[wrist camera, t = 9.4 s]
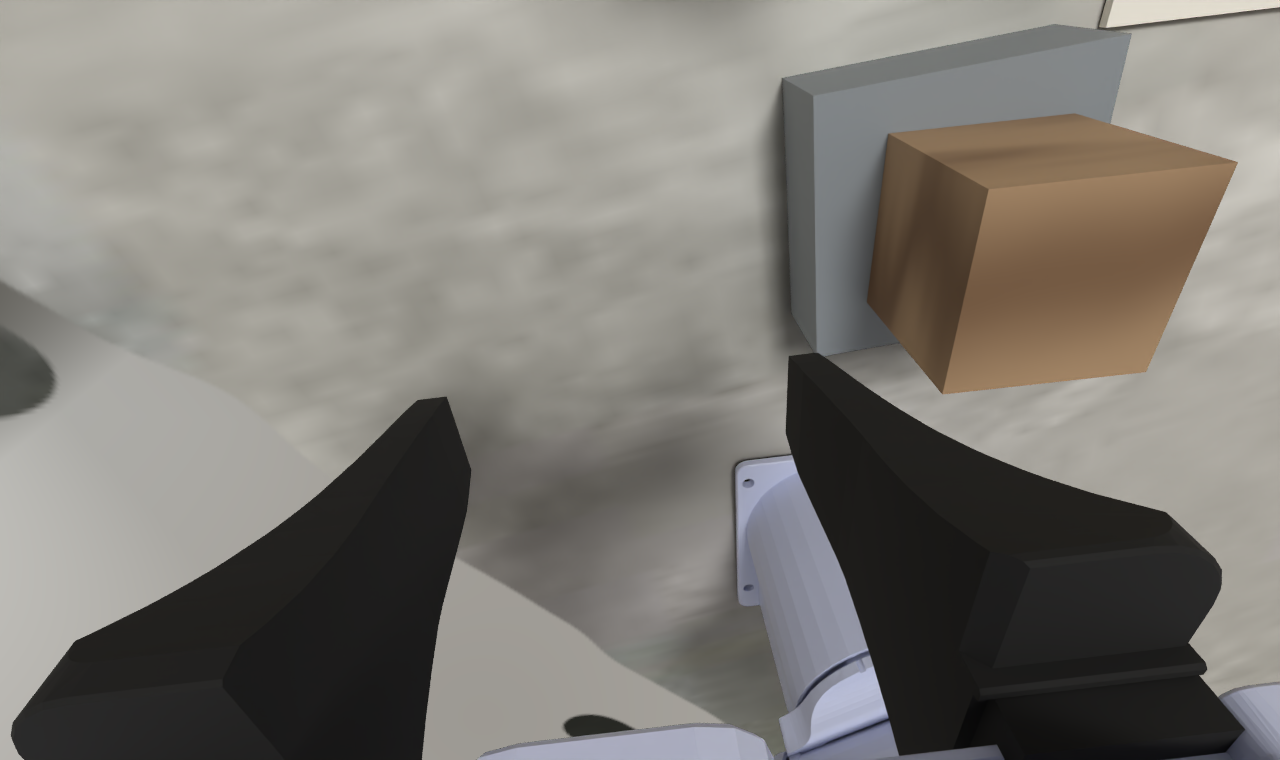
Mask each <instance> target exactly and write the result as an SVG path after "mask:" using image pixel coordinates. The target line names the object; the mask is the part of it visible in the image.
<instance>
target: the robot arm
mask: <svg viewBox="0 0 1280 760" xmlns="http://www.w3.org/2000/svg"><path fill="white" fill-rule="evenodd" d="M786 436H787V439H788V442H789V446H790V449H791V453H792V455H789V456H781V457H772V458H764V459H755V460H747V461H743V462H741V463H739V464H738V465H737V466H736V469H735V494H736V546H737V596H738V600H739V603H740V604H741V605H743V606H755V605H760V607H761V611H762V615H763V619H764V622H765V626H766V630H767V634H768V638H769V642H770V645H771V649H772V653H773V657H774V661H775V664H776V668H777V672H778V676H779V680H780V684H781V687H782V691H783V695H784V699H785V703H786V706H787V709H788V712H789V713H788V714H786V715H784V716H782V717H780V718H779V724H780V728H781V732H782V736H783V740H784V744H785V748H786V751H784V752H781V753H778V754H777V755H776V756H774V757H773V756H772V754H771V752H770V750H769V748H768V746H767V744H766V743H765V741H764V739H762V738H761V737H759V736H758V735H756V734H754V733H751V732H749V731H746V730H744V729H741V728H739V727H736V726H734V725H731V724H715V723H711V724H710V723H689V724H680V725H672V726H663V727H655V728H646V729H638V730H629V731H621V732H612V733H603V734H595V735H586V736H578V737H569V738H561V739H552V740H544V741H535V742H527V743H519V744H515V745H511V746H507V747H503V748H500V749H496V750H493V751H489V752H485V753H484V754H483V755H481V756H480V757H479V758H478V759H476V760H1280V682H1273V683H1264V684H1256V685H1247V686H1243V687H1239V688H1234V689H1232V690H1230V691H1228V692H1226V693H1223V694H1221V695H1220V696H1219V697H1217V696H1216V695H1215V693H1214V692H1213V691H1212V690H1211V689H1210V688H1209V686H1208V685H1207V684H1206V683H1205V682H1204V681H1203V679H1202V678H1201V677H1200V676H1199V675H1204V673H1205V672H1206V670H1207V666H1206V663H1205V661H1204V660H1203V659H1202V658H1201V657H1200V656H1199V655H1198V653H1197V652H1196V651H1195V650H1194V649H1193V648H1192V647H1191V645H1190V644H1189V643H1188V642H1189V641H1190V639H1191V638H1192V636H1193V635H1194V633H1195V632H1196V630H1197V629H1198V627H1199V626H1200V624H1201V623H1202V621H1203V620H1204V618H1205V617H1206V615H1207V614H1208V612H1209V611H1210V609H1211V608H1212V606H1213V605H1214V602H1215V600H1216V598H1217V596H1218V594H1219V592H1220V589H1221V585H1222V569H1221V568H1220V566H1219V564H1218V563H1217V561H1216V559H1215V558H1214V557H1213V556H1212V555H1211V554H1210V553H1209V552H1208V551H1207V550H1206V549H1205V548H1204V547H1202V546H1201V545H1200V544H1199V543H1198V542H1197V541H1196V540H1195V539H1194V538H1193V537H1192V536H1191V535H1190V534H1189V533H1188V532H1187V531H1186V530H1185V529H1183V528H1182V527H1181V526H1180V525H1179V524H1178V523H1177V522H1176V521H1175V520H1174V519H1173V518H1172V517H1171V516H1169V515H1168V514H1167V513H1166V512H1163V511H1159V510H1155V509H1151V508H1148V507H1144V506H1140V505H1136V504H1132V503H1128V502H1124V501H1120V500H1117V499H1113V498H1109V497H1105V496H1101V495H1097V494H1094V493H1090V492H1087V491H1084V490H1081V489H1078V488H1075V487H1071V486H1068V485H1065V484H1062V483H1059V482H1056V481H1053V480H1050V479H1047V478H1044V477H1041V476H1038V475H1036V474H1033V473H1030V472H1027V471H1025V470H1022V469H1019V468H1017V467H1015V466H1012V465H1010V464H1007V463H1005V462H1002V461H1000V460H997V459H995V458H992V457H990V456H988V455H985V454H983V453H981V452H978V451H976V450H974V449H972V448H970V447H968V446H966V445H964V444H962V443H960V442H958V441H956V440H954V439H952V438H950V437H948V436H945V435H943V434H941V433H940V432H938V431H936V430H934V429H932V428H930V427H929V426H927V425H925V424H923V423H922V422H920V421H918V420H917V419H915V418H913V417H912V416H910V415H908V414H907V413H905V412H903V411H902V410H900V409H898V408H897V407H895V406H894V405H892V404H891V403H889V402H887V401H886V400H884V399H883V398H881V397H880V396H878V395H877V394H876V393H874V392H873V391H871V390H870V389H868V388H867V387H865V386H864V385H863V384H861V383H860V382H858V381H857V380H856V379H854V378H853V377H851V376H850V375H849V374H847V373H846V372H844V371H843V370H842V369H840V368H839V367H838V366H836V365H835V364H833V363H832V362H831V361H829V360H828V359H827V358H825V357H824V356H822V355H821V354H819V353H811V354H802V355H794V356H789V363H788V388H787V413H786ZM470 478H471V468H470V465H469V462H468V459H467V456H466V453H465V450H464V447H463V444H462V441H461V438H460V435H459V432H458V429H457V426H456V423H455V420H454V417H453V414H452V411H451V408H450V405H449V402H448V399H447V397H440V398H431V399H423V400H417V401H416V402H415V403H414V404H413V405H412V406H411V407H410V408H408V409H407V410H406V411H405V412H404V413H403V414H402V415H401V416H400V417H399V418H398V419H397V420H396V421H395V422H394V423H393V424H392V425H391V426H390V427H389V428H388V429H387V430H386V431H385V432H384V433H383V434H382V435H381V436H380V437H379V438H378V439H377V440H376V441H375V442H374V443H373V444H372V445H371V446H370V447H369V448H368V449H367V450H366V451H365V452H364V453H363V454H362V455H361V456H360V457H359V458H358V459H357V460H356V461H355V462H354V463H353V464H352V465H350V466H349V467H348V468H347V469H346V470H345V471H344V472H343V473H342V474H341V475H339V476H338V477H337V478H336V479H335V480H334V481H333V482H332V483H331V484H329V485H328V486H327V487H326V488H325V489H324V490H323V491H322V492H321V493H319V494H318V495H317V496H316V497H315V498H313V499H312V500H311V501H310V502H308V503H307V504H306V505H305V506H304V507H302V508H301V509H300V510H298V511H297V512H296V513H294V514H293V515H292V516H291V517H289V518H288V519H287V520H286V521H284V522H283V523H281V524H280V525H279V526H278V527H276V528H275V529H273V530H272V531H270V532H269V533H268V534H266V535H265V536H263V537H262V538H260V539H259V540H257V541H256V542H254V543H253V544H251V545H250V546H248V547H247V548H245V549H243V550H242V551H240V552H239V553H238V554H236V555H234V556H233V557H231V558H230V559H228V560H227V561H225V562H224V563H222V564H221V565H219V566H217V567H216V568H214V569H212V570H211V571H209V572H207V573H206V574H204V575H202V576H201V577H199V578H197V579H195V580H194V581H192V582H191V583H188V584H187V585H185V586H183V587H181V588H180V589H178V590H176V591H174V592H173V593H171V594H169V595H167V596H165V597H163V598H161V599H160V600H158V601H156V602H154V603H152V604H150V605H148V606H147V607H144V608H142V609H140V610H138V611H136V612H134V613H132V614H130V615H128V616H126V617H124V618H122V619H120V620H118V621H116V622H114V623H112V624H110V625H108V626H106V627H104V628H102V629H100V630H98V631H96V632H94V633H92V634H89V635H87V636H85V637H83V638H81V639H79V640H76V641H75V642H74V643H73V645H72V646H71V647H70V649H69V650H68V651H67V652H66V654H65V655H64V656H63V658H62V659H61V660H60V662H59V663H58V664H57V665H56V667H55V668H54V669H53V671H52V672H51V673H50V675H49V676H48V677H47V679H46V680H45V681H44V682H43V684H42V685H41V686H40V688H39V689H38V690H37V692H36V693H35V694H34V696H33V697H32V698H31V699H30V701H29V702H28V703H27V705H26V706H25V707H24V709H23V710H22V711H21V713H20V714H19V715H18V717H17V718H16V719H15V720H14V722H13V725H12V731H11V737H12V740H13V743H14V745H15V747H16V749H17V751H18V754H19V755H20V756H21V757H22V758H23V759H24V760H422V752H423V742H424V731H425V721H426V713H427V704H428V696H429V688H430V680H431V671H432V664H433V658H434V651H435V644H436V638H437V631H438V624H439V620H440V615H441V610H442V606H443V602H444V598H445V594H446V590H447V586H448V582H449V579H450V575H451V571H452V567H453V564H454V560H455V556H456V552H457V548H458V545H459V541H460V537H461V533H462V529H463V525H464V521H465V517H466V512H467V505H468V497H469V488H470ZM746 479H751V480H750V481H747V482H744V480H746Z"/></svg>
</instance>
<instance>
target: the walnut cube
mask: <svg viewBox="0 0 1280 760" xmlns="http://www.w3.org/2000/svg"><path fill="white" fill-rule="evenodd" d="M1237 163H1238V162H1235V161H1232V160H1229V159H1225V158H1222V157H1219V156H1215V155H1212V154H1209V153H1205V152H1202V151H1199V150H1195V149H1192V148H1189V147H1185V146H1182V145H1179V144H1175V143H1172V142H1169V141H1165V140H1162V139H1159V138H1155V137H1152V136H1149V135H1145V134H1142V133H1139V132H1135V131H1132V130H1129V129H1125V128H1122V127H1119V126H1115V125H1112V124H1109V123H1105V122H1102V121H1099V120H1095V119H1092V118H1089V117H1085V116H1082V115H1079V114H1075V113H1074V114H1064V115H1055V116H1046V117H1037V118H1027V119H1018V120H1009V121H999V122H990V123H981V124H972V125H962V126H953V127H944V128H935V129H925V130H916V131H907V132H897V133H888V141H887V149H886V156H885V164H884V172H883V180H882V187H881V195H880V203H879V211H878V218H877V226H876V234H875V242H874V250H873V257H872V265H871V273H870V281H869V288H868V296H867V303H868V304H869V306H870V307H871V308H872V309H873V311H874V312H875V313H876V314H877V315H878V317H879V318H880V319H881V320H882V321H883V323H884V324H885V325H886V326H887V328H888V329H889V330H890V331H891V332H892V334H893V335H894V336H895V337H896V338H897V340H898V341H899V342H900V343H901V345H902V346H903V347H904V348H905V349H906V351H907V352H908V353H909V354H910V355H911V357H912V358H913V359H914V360H915V362H916V363H917V364H918V365H919V366H920V368H921V369H922V370H923V371H924V372H925V374H926V375H927V376H928V377H929V379H930V380H931V381H932V382H933V383H934V385H935V386H936V387H937V388H938V390H939V391H940V392H941V393H942V394H950V393H959V392H968V391H978V390H987V389H996V388H1005V387H1014V386H1023V385H1032V384H1041V383H1050V382H1059V381H1068V380H1078V379H1087V378H1096V377H1105V376H1114V375H1123V374H1132V373H1141V372H1146V371H1147V368H1148V366H1149V364H1150V362H1151V359H1152V357H1153V355H1154V352H1155V350H1156V348H1157V346H1158V343H1159V341H1160V339H1161V337H1162V334H1163V332H1164V330H1165V327H1166V325H1167V323H1168V321H1169V318H1170V316H1171V314H1172V311H1173V309H1174V307H1175V305H1176V302H1177V300H1178V298H1179V296H1180V293H1181V291H1182V289H1183V286H1184V284H1185V282H1186V280H1187V277H1188V275H1189V273H1190V270H1191V268H1192V266H1193V264H1194V261H1195V259H1196V257H1197V255H1198V252H1199V250H1200V248H1201V245H1202V243H1203V241H1204V239H1205V236H1206V234H1207V232H1208V229H1209V227H1210V225H1211V223H1212V220H1213V218H1214V216H1215V213H1216V211H1217V209H1218V207H1219V204H1220V202H1221V200H1222V198H1223V195H1224V193H1225V191H1226V188H1227V186H1228V184H1229V182H1230V179H1231V177H1232V175H1233V172H1234V170H1235V168H1236V166H1237Z"/></svg>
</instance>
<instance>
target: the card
mask: <svg viewBox="0 0 1280 760" xmlns="http://www.w3.org/2000/svg"><path fill="white" fill-rule="evenodd" d="M1276 7H1280V0H1106V3H1105V7H1104V10H1103V14H1102V18H1101V21H1100V25H1099V27H1102V28H1109V27H1118V26H1126V25H1134V24H1143V23H1151V22H1159V21H1168V20H1176V19H1184V18H1193V17H1201V16H1209V15H1218V14H1226V13H1234V12H1243V11H1251V10H1259V9H1268V8H1276Z"/></svg>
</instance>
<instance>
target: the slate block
mask: <svg viewBox="0 0 1280 760" xmlns="http://www.w3.org/2000/svg"><path fill="white" fill-rule="evenodd" d="M1131 35H1132V34H1131V33H1123V32H1114V31H1106V30H1098V29H1090V28H1081V27H1073V26H1065V25H1056V24H1054V25H1049V26H1043V27H1038V28H1033V29H1028V30H1023V31H1018V32H1013V33H1008V34H1003V35H998V36H993V37H988V38H983V39H978V40H973V41H967V42H962V43H957V44H952V45H947V46H942V47H937V48H932V49H927V50H922V51H917V52H912V53H907V54H902V55H896V56H891V57H886V58H881V59H876V60H871V61H866V62H861V63H856V64H851V65H846V66H841V67H836V68H831V69H825V70H820V71H815V72H810V73H805V74H800V75H795V76H790V77H785V78H782V80H783V106H784V132H785V158H786V184H787V210H788V236H789V262H790V288H791V313H792V315H793V317H794V319H795V320H796V322H797V324H798V326H799V327H800V329H801V331H802V333H803V334H804V336H805V338H806V340H807V341H808V343H809V345H810V346H811V348H812V350H813V352H814V353H819V354H821V355H822V356H828V355H833V354H839V353H845V352H850V351H856V350H862V349H867V348H873V347H878V346H884V345H890V344H895V343H900V342H899V341H898V340H897V338H896V337H895V336H894V335H893V334H892V332H891V331H890V330H889V329H888V328H887V326H886V325H885V324H884V323H883V321H882V320H881V319H880V318H879V317H878V315H877V314H876V313H875V312H874V311H873V309H872V308H871V307H870V306H869V304H868V303H867V296H868V288H869V281H870V273H871V265H872V257H873V250H874V242H875V234H876V226H877V218H878V211H879V203H880V195H881V187H882V180H883V172H884V164H885V156H886V149H887V141H888V133H897V132H907V131H916V130H925V129H935V128H944V127H953V126H962V125H972V124H981V123H990V122H999V121H1009V120H1018V119H1027V118H1037V117H1046V116H1055V115H1064V114H1074V113H1075V114H1079V115H1082V116H1085V117H1089V118H1092V119H1095V120H1099V121H1102V122H1105V123H1109V124H1110V122H1111V118H1112V114H1113V109H1114V105H1115V101H1116V97H1117V93H1118V89H1119V85H1120V80H1121V76H1122V72H1123V68H1124V64H1125V60H1126V55H1127V51H1128V47H1129V43H1130V39H1131Z"/></svg>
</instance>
